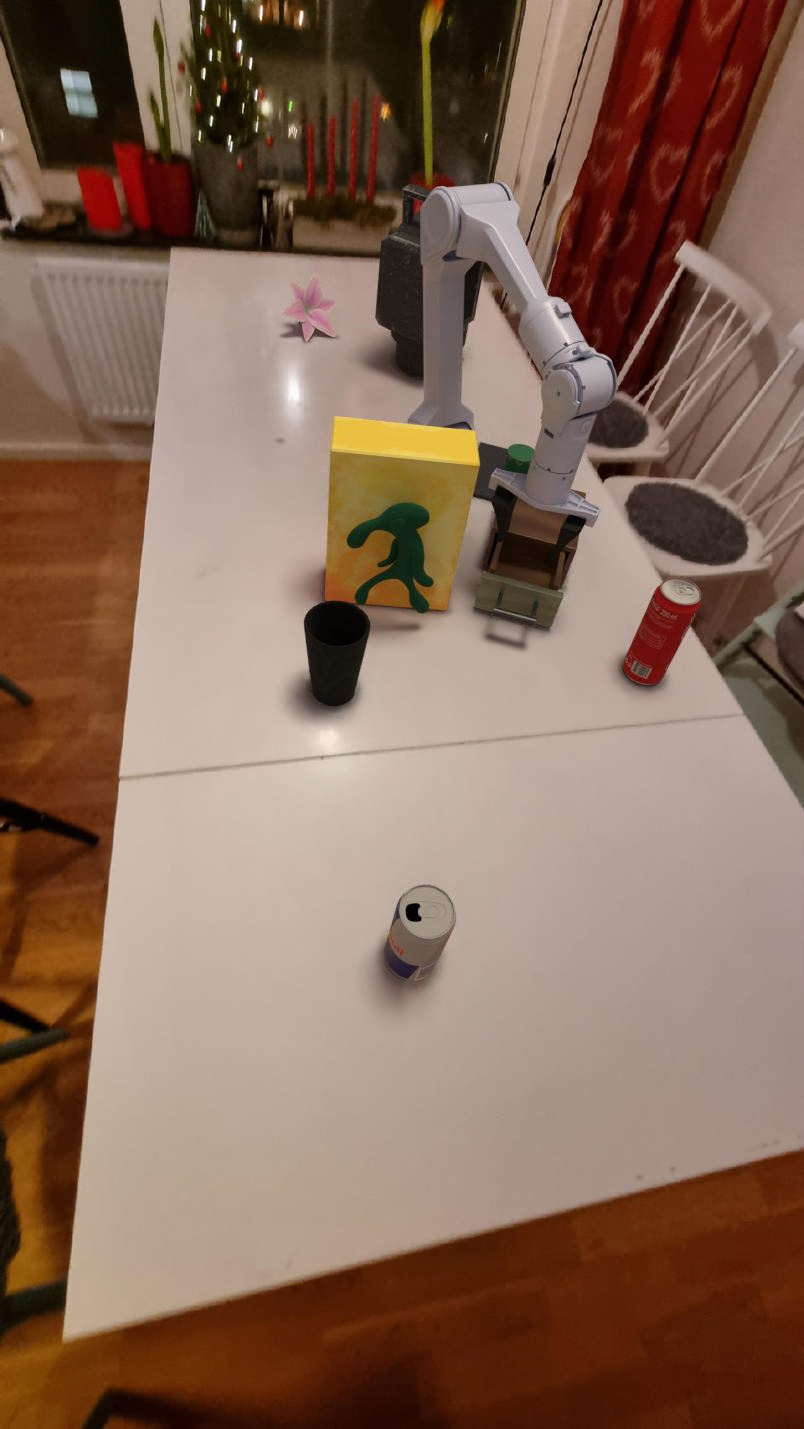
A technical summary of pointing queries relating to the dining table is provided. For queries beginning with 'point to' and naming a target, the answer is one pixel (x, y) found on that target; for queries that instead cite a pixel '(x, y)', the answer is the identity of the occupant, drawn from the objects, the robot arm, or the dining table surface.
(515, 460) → the green cylinder
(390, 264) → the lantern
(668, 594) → the beverage can
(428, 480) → the mottled yellow carton
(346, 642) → the cup
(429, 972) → the energy drink
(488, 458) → the mat
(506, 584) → the drawer
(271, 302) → the dining table surface
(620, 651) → the dining table surface
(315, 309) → the lily
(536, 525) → the cabinet
